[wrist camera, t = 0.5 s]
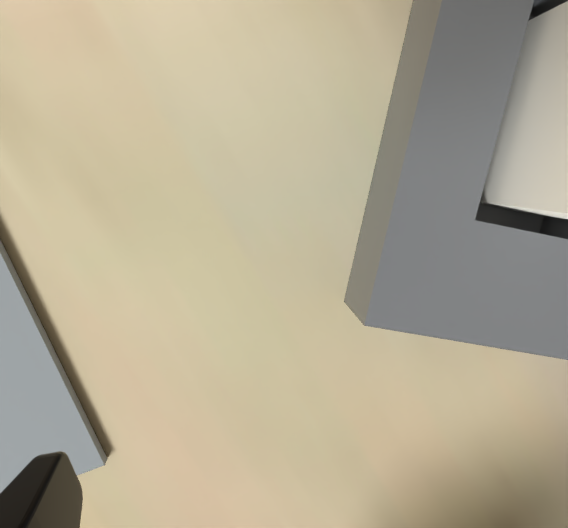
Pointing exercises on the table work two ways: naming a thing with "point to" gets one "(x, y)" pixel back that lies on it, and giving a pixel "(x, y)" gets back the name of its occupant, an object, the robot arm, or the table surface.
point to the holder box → (457, 194)
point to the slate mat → (35, 390)
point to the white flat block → (535, 125)
